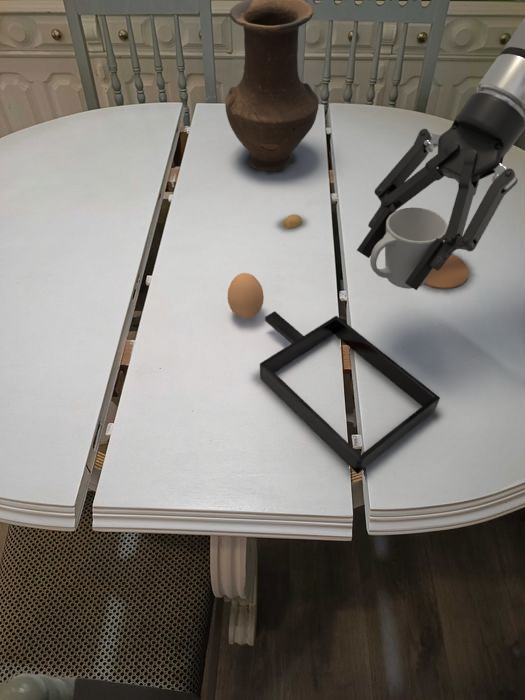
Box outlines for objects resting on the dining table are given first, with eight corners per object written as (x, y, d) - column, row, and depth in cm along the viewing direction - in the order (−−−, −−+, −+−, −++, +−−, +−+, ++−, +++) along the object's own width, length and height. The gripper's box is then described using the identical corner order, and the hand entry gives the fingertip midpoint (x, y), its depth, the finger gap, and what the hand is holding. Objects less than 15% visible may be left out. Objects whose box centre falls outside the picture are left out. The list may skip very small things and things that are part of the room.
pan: (434, 412, 74) (440, 397, 72) (357, 474, 68) (360, 460, 66) (305, 307, 89) (306, 291, 86) (232, 350, 83) (230, 335, 80)
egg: (239, 298, 90) (236, 259, 84) (269, 308, 89) (269, 269, 82) (223, 320, 87) (218, 282, 81) (254, 331, 85) (253, 292, 79)
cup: (446, 283, 72) (460, 231, 66) (383, 307, 69) (392, 255, 63) (412, 252, 77) (423, 201, 70) (352, 273, 74) (358, 222, 68)
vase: (218, 178, 115) (205, 23, 92) (241, 135, 127) (234, -11, 104) (306, 188, 112) (314, 30, 89) (321, 143, 124) (332, -6, 101)
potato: (304, 224, 104) (305, 216, 102) (286, 230, 102) (286, 222, 101) (297, 217, 105) (298, 209, 104) (280, 223, 104) (280, 215, 103)
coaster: (480, 272, 93) (480, 270, 93) (443, 297, 89) (444, 295, 89) (435, 245, 99) (435, 243, 98) (398, 267, 95) (398, 265, 94)
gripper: (583, 155, 61) (457, 318, 67) (440, 95, 72) (343, 240, 77) (578, 124, 55) (440, 307, 61) (422, 64, 65) (318, 224, 71)
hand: (386, 269), depth 69 cm, fingers closed on cup, 8 cm apart
